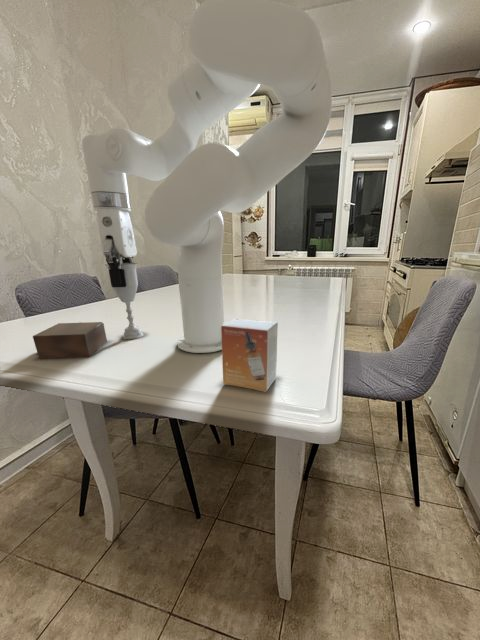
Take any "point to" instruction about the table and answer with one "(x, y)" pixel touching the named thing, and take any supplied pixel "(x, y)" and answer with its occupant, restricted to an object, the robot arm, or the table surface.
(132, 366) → the table surface
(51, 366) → the table surface
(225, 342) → the small box
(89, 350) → the walnut block
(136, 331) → the chalice
